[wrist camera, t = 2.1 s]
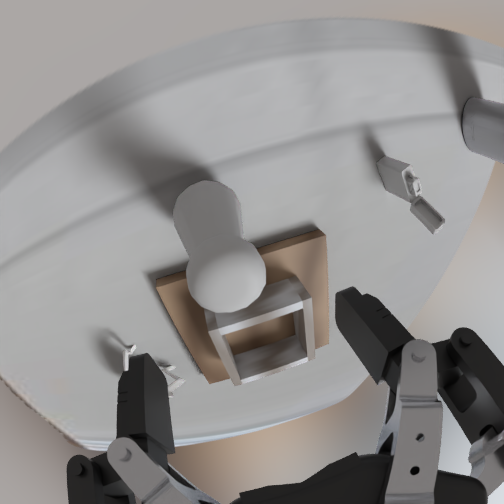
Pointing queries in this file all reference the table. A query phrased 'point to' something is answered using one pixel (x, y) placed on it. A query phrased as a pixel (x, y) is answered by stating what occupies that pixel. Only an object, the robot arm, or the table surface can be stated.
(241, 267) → the salt shaker
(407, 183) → the lighter
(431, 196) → the table surface
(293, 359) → the wooden base with frame
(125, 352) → the white bent open piece
